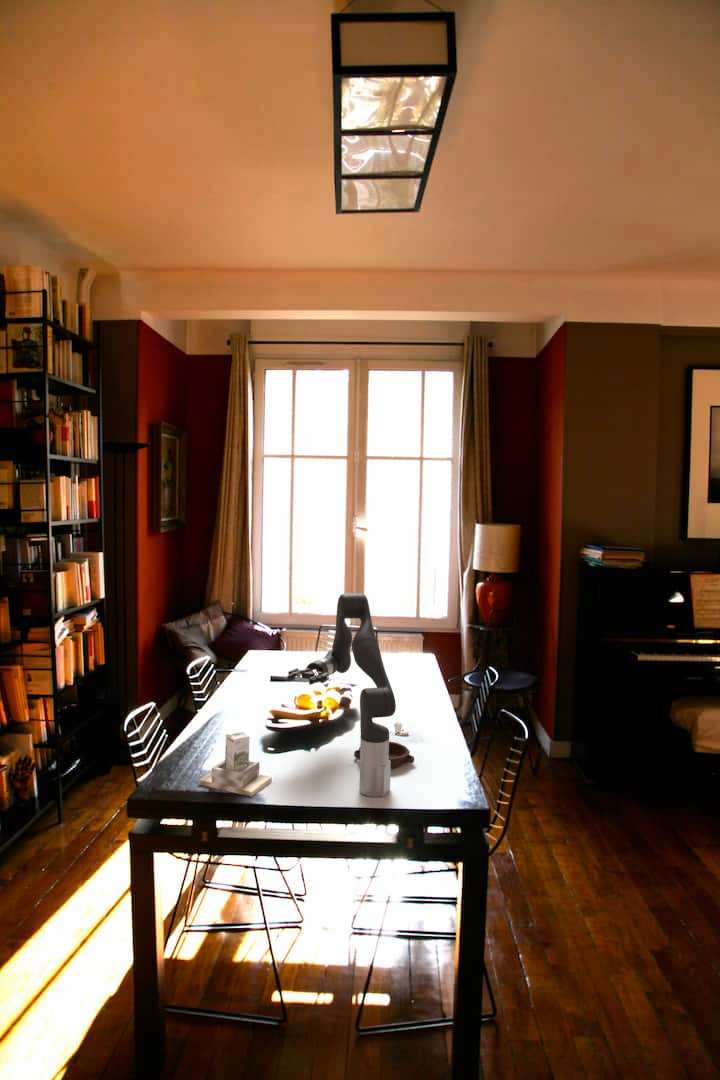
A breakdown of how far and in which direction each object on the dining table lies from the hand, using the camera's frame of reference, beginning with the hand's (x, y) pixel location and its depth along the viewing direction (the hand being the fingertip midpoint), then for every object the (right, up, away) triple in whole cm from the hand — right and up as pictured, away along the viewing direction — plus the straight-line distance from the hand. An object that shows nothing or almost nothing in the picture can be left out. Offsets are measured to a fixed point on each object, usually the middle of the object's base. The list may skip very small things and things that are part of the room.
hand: (299, 680), depth 211 cm
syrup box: (-19, -29, -15) cm, 38 cm away
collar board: (-19, -30, -15) cm, 39 cm away
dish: (+30, -31, +4) cm, 43 cm away
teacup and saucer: (+36, -31, +33) cm, 58 cm away
